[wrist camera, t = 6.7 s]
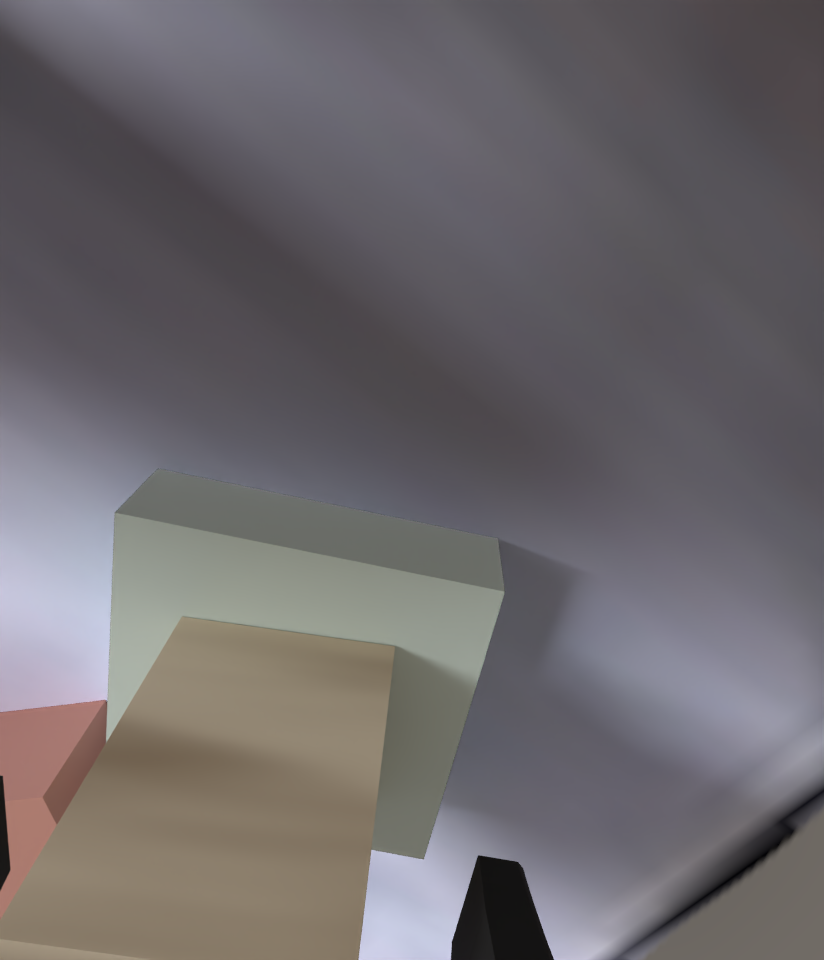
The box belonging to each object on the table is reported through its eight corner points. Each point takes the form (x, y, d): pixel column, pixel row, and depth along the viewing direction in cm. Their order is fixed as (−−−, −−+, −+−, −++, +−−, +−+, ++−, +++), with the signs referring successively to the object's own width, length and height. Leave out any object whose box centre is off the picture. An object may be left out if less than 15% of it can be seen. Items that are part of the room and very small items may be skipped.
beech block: (371, 801, 15) (325, 1173, 9) (181, 774, 15) (23, 1133, 9) (394, 646, 13) (355, 987, 8) (181, 616, 13) (-11, 937, 8)
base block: (427, 770, 18) (423, 859, 15) (149, 717, 17) (103, 799, 15) (496, 527, 15) (505, 591, 13) (166, 459, 15) (114, 512, 12)
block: (162, 816, 18) (111, 930, 16) (19, 831, 19) (-53, 943, 16) (108, 695, 17) (42, 797, 14) (-45, 713, 17) (-138, 815, 15)
